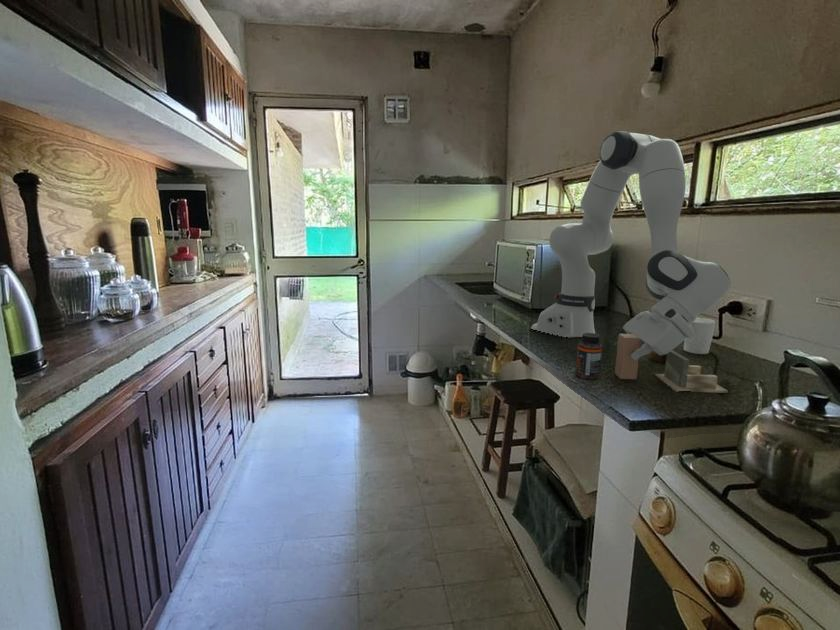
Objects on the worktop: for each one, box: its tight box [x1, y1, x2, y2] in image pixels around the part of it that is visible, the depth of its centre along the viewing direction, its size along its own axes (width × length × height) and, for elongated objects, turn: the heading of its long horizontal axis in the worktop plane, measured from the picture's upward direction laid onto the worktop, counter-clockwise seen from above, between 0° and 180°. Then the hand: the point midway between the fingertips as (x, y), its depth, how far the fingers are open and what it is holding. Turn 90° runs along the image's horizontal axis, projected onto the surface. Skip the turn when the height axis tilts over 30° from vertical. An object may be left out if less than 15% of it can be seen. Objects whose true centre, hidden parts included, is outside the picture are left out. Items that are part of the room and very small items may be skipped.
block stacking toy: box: [654, 349, 729, 394], centre depth 109 cm, size 12×11×8 cm
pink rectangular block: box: [614, 333, 642, 380], centre depth 114 cm, size 4×4×11 cm
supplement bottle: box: [575, 333, 603, 380], centre depth 114 cm, size 6×6×11 cm
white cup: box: [683, 317, 716, 355], centre depth 136 cm, size 8×8×10 cm
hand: (625, 352), depth 114 cm, fingers open, 7 cm apart
